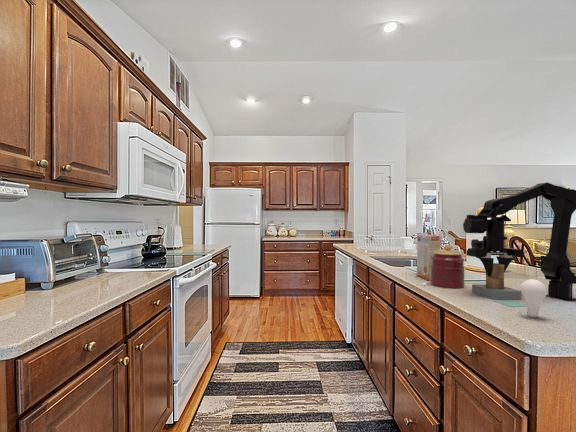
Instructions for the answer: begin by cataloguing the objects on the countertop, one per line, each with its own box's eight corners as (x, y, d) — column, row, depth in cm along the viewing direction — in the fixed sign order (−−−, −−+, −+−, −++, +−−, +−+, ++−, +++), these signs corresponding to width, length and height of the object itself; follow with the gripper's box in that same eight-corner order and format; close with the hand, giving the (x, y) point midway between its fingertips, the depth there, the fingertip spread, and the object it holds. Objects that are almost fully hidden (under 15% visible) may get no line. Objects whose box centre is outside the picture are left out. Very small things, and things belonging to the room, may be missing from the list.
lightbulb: (547, 321, 92) (548, 282, 92) (520, 318, 95) (521, 279, 95) (544, 316, 97) (545, 279, 97) (519, 313, 100) (519, 276, 100)
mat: (512, 302, 113) (512, 300, 113) (529, 308, 106) (529, 306, 106) (493, 302, 112) (493, 300, 112) (509, 308, 105) (509, 306, 105)
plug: (496, 286, 123) (495, 263, 123) (504, 288, 118) (504, 264, 118) (485, 286, 122) (485, 263, 122) (493, 288, 118) (493, 264, 118)
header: (496, 293, 127) (496, 284, 127) (521, 301, 115) (521, 291, 115) (471, 293, 126) (472, 284, 126) (494, 301, 114) (494, 291, 114)
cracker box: (441, 281, 151) (441, 235, 151) (427, 281, 151) (428, 235, 151) (428, 275, 165) (428, 234, 165) (416, 275, 165) (416, 233, 165)
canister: (436, 289, 133) (436, 245, 133) (426, 283, 146) (426, 243, 146) (470, 290, 131) (470, 246, 131) (457, 284, 144) (457, 243, 144)
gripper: (502, 232, 129) (502, 272, 129) (457, 232, 128) (457, 272, 127) (525, 234, 118) (525, 277, 118) (476, 233, 116) (476, 278, 116)
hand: (494, 276), depth 120 cm, fingers closed on plug, 4 cm apart
